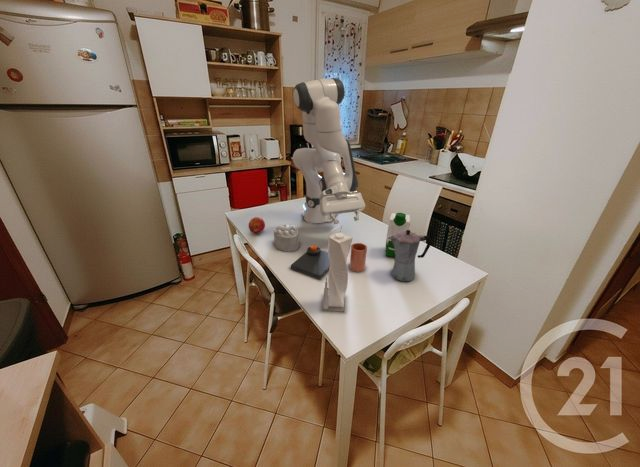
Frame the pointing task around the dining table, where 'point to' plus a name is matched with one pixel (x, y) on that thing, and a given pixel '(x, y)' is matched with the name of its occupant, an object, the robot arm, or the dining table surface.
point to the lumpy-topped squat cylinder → (286, 237)
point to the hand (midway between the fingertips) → (347, 221)
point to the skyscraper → (337, 272)
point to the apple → (256, 225)
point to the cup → (358, 257)
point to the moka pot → (407, 254)
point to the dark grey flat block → (313, 263)
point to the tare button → (313, 248)
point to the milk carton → (396, 230)
